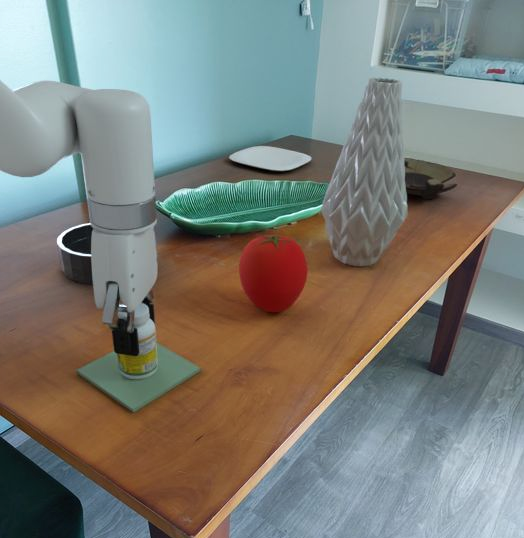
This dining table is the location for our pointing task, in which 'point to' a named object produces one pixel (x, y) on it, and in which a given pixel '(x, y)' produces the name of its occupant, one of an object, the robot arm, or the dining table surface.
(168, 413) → the dining table surface
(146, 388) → the mat
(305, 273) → the tomato
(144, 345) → the supplement bottle
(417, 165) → the oil lamp
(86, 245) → the pan
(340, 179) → the vase
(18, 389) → the dining table surface
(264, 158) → the plate
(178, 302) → the dining table surface
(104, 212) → the robot arm
